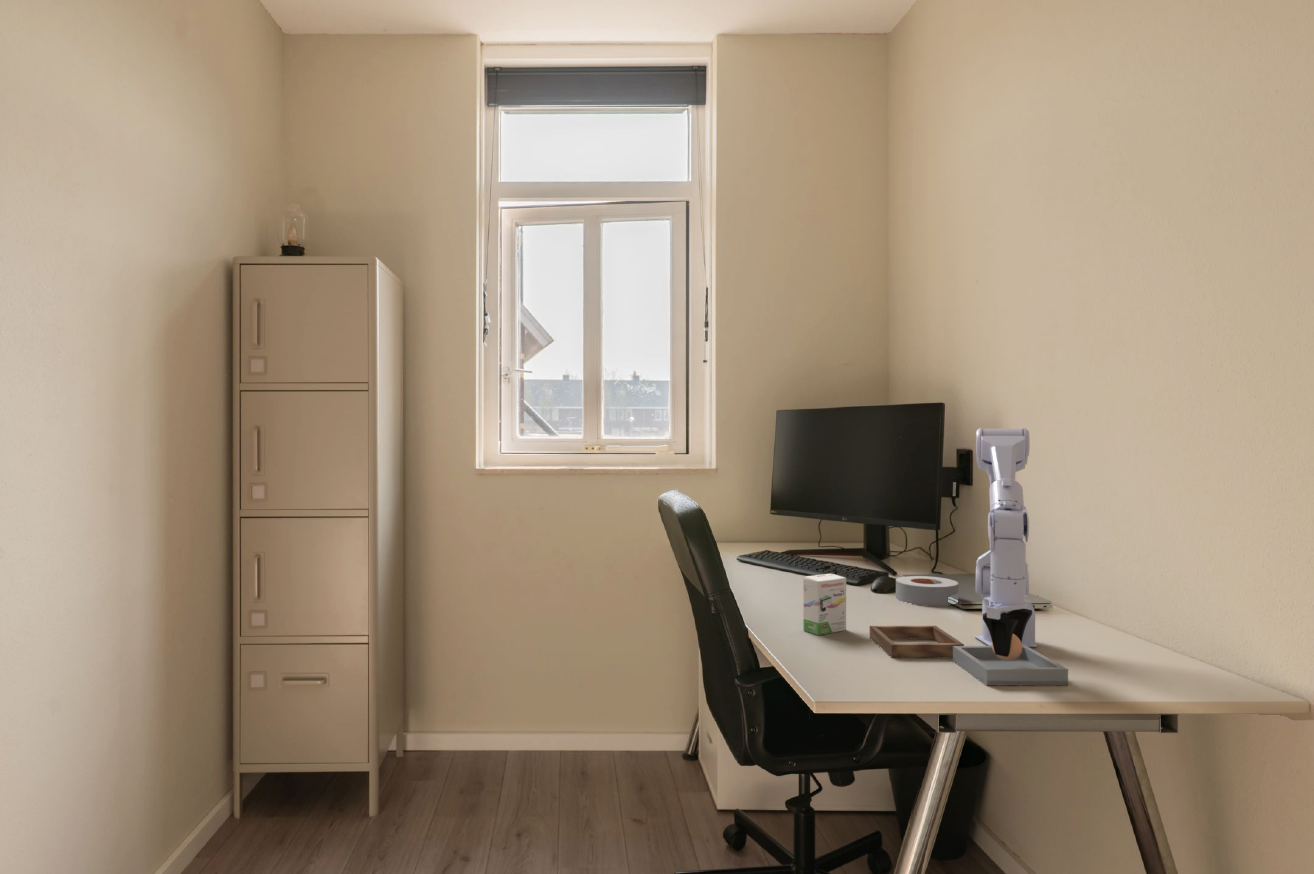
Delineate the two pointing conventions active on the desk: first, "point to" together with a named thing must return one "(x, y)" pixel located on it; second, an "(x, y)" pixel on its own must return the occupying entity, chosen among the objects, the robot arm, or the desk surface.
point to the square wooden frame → (940, 649)
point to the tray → (1010, 667)
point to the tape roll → (925, 590)
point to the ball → (1012, 649)
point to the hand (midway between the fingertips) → (1007, 651)
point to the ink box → (824, 603)
